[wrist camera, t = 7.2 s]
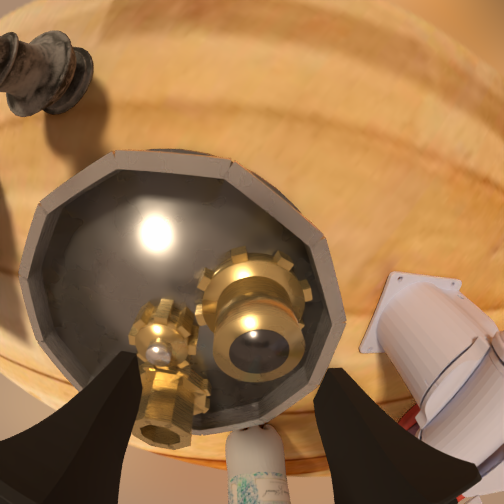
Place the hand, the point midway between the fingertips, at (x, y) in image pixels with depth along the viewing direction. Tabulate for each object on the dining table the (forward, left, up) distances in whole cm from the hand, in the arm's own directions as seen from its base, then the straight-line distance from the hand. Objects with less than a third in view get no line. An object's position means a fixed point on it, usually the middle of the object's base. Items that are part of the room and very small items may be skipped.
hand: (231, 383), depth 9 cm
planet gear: (+4, +11, -9) cm, 15 cm away
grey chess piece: (+14, -13, -10) cm, 21 cm away
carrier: (+4, +4, -10) cm, 12 cm away
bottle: (-5, +20, -10) cm, 23 cm away
